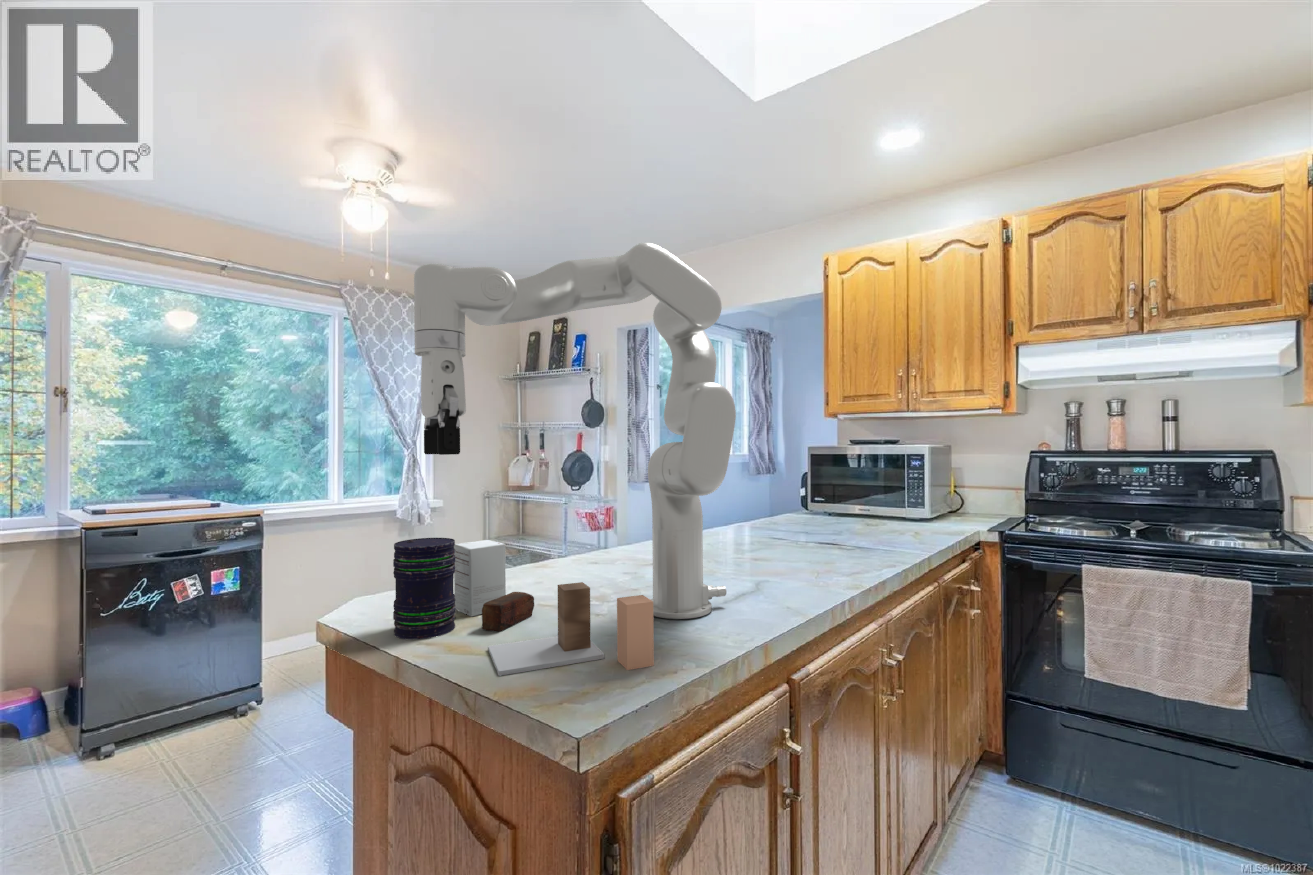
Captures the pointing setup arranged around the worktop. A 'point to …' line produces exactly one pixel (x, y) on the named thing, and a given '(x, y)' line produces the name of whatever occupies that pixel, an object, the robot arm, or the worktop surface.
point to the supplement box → (478, 575)
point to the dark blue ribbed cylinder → (424, 588)
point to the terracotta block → (635, 632)
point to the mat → (537, 655)
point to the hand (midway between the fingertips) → (441, 454)
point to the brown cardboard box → (574, 616)
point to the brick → (506, 611)
